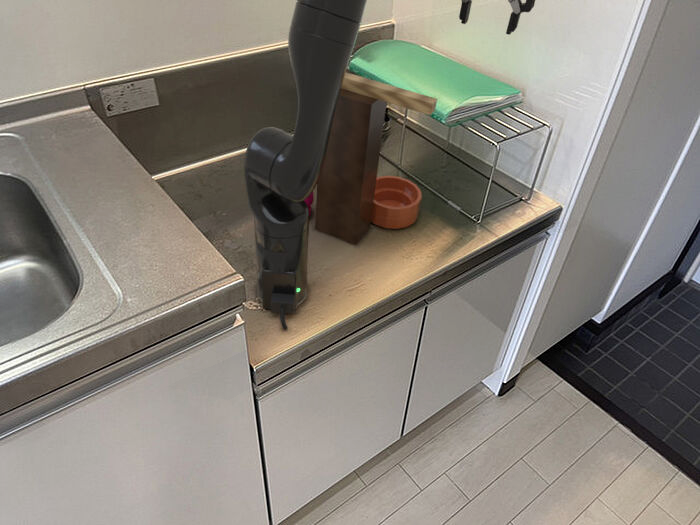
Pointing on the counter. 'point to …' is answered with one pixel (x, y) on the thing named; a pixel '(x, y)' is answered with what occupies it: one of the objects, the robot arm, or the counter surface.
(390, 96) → the stick
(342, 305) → the counter surface
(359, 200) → the stand
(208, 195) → the counter surface
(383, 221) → the bowl
